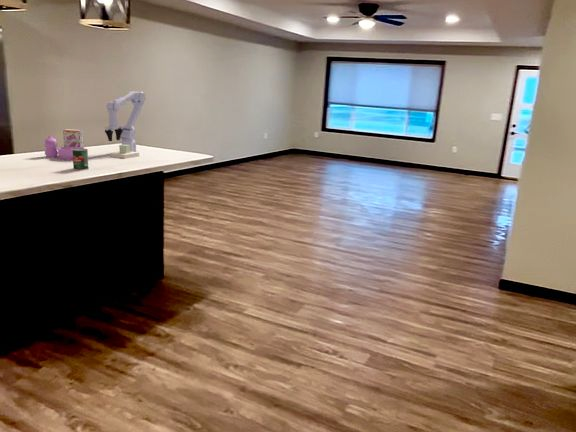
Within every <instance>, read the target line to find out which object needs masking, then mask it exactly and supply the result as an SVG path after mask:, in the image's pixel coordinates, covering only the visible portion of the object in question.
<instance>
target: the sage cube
mask: <svg viewBox="0 0 576 432" xmlns="http://www.w3.org/2000/svg"><path fill="white" fill-rule="evenodd" d="M118 146H119V148H118V150H119V152H120V153H131V148H130V145H122V144H120V145H118Z"/></svg>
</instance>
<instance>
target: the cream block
mask: <svg viewBox="0 0 576 432" xmlns="http://www.w3.org/2000/svg"><path fill="white" fill-rule="evenodd" d="M109 156H110V157H111V158H118V159H130V158H131V159H132V158H136V157H140V152H138V151H137V152H131V153H120V151H115V152H110V154H109Z"/></svg>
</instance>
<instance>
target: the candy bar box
mask: <svg viewBox="0 0 576 432" xmlns="http://www.w3.org/2000/svg"><path fill="white" fill-rule="evenodd" d="M62 132H63V133H62V135H63V147H82V148H84V149H85V146H84V130H81V129H70V128H64V129H62Z"/></svg>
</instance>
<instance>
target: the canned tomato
mask: <svg viewBox="0 0 576 432" xmlns="http://www.w3.org/2000/svg"><path fill="white" fill-rule="evenodd" d="M72 150H73V160H72V163H73V164H72V165H73V170H75V171H76V170H77V171H84V170H89V149H88V148H84V149H83V148H77V149H72Z"/></svg>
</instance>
